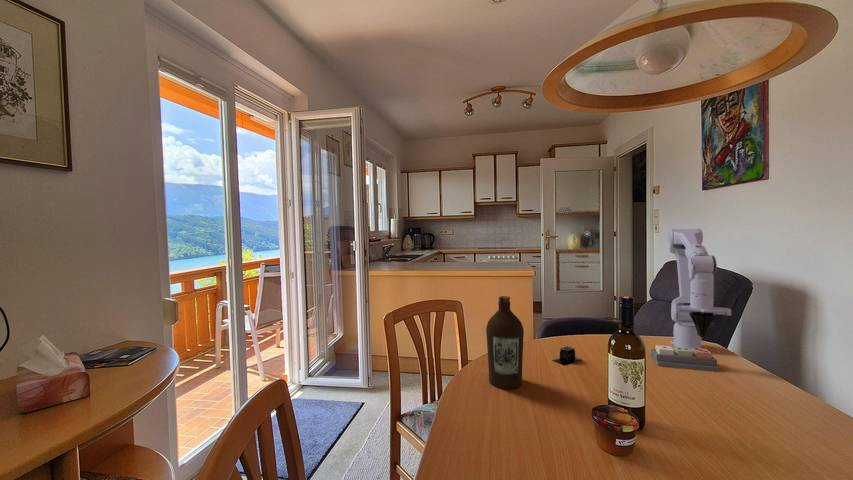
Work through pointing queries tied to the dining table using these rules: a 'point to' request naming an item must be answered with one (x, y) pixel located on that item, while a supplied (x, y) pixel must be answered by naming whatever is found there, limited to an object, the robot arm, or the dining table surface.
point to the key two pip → (683, 351)
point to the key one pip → (664, 350)
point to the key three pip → (701, 353)
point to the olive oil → (505, 347)
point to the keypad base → (684, 361)
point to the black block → (567, 356)
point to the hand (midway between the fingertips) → (701, 336)
